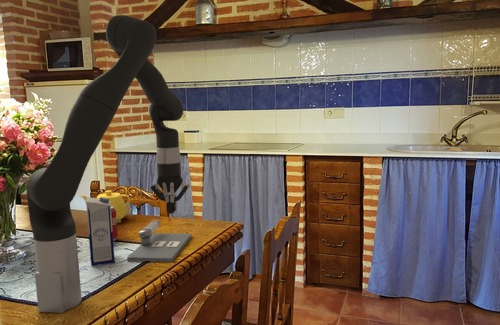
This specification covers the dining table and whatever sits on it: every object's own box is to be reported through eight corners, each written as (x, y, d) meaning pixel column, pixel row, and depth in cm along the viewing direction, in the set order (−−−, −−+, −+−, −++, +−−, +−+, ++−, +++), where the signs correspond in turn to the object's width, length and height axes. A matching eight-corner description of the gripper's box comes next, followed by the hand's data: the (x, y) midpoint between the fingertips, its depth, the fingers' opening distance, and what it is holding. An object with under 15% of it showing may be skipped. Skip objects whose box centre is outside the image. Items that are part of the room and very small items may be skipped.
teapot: (132, 223, 170) (130, 192, 169) (79, 228, 165) (77, 196, 163) (131, 214, 183) (130, 186, 182) (83, 219, 178) (80, 189, 176)
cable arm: (162, 225, 152) (162, 219, 152) (149, 238, 138) (149, 232, 137) (151, 225, 153) (151, 219, 152) (137, 238, 138) (137, 232, 138)
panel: (171, 262, 127) (171, 250, 127) (127, 261, 129) (126, 249, 128) (191, 236, 151) (191, 226, 150) (154, 236, 152) (153, 226, 152)
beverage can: (112, 243, 146) (109, 210, 144) (95, 242, 147) (93, 209, 145) (121, 237, 152) (119, 205, 150) (105, 237, 153) (103, 205, 151)
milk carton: (91, 258, 132) (86, 196, 129) (113, 255, 134) (109, 194, 131) (91, 266, 125) (86, 201, 122) (114, 262, 128) (110, 198, 125)
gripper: (191, 159, 138) (193, 210, 141) (152, 159, 140) (155, 210, 142) (185, 162, 131) (188, 216, 133) (144, 162, 132) (148, 216, 135)
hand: (171, 213), depth 138 cm, fingers closed
